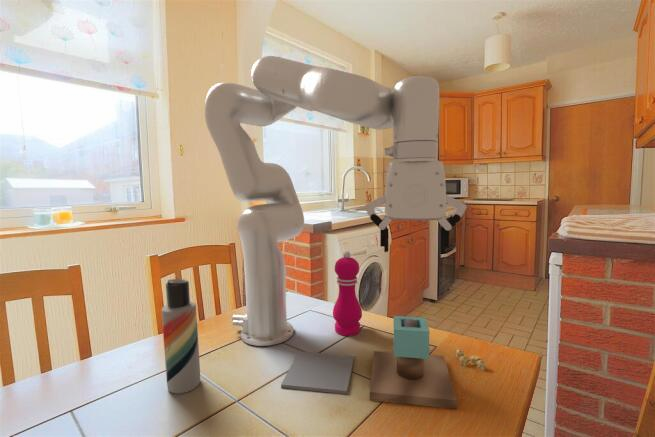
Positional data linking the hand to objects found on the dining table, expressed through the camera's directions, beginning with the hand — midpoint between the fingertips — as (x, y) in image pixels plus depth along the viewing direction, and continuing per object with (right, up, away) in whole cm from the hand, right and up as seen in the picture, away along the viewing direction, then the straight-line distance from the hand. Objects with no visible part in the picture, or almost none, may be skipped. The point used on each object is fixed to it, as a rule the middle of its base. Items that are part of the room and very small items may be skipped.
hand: (413, 251), depth 61 cm
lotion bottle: (-42, -25, +2) cm, 49 cm away
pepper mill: (-10, -22, +24) cm, 34 cm away
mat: (-17, -24, +6) cm, 30 cm away
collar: (0, -18, +2) cm, 18 cm away
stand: (0, -24, +2) cm, 24 cm away
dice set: (+13, -24, +8) cm, 29 cm away
